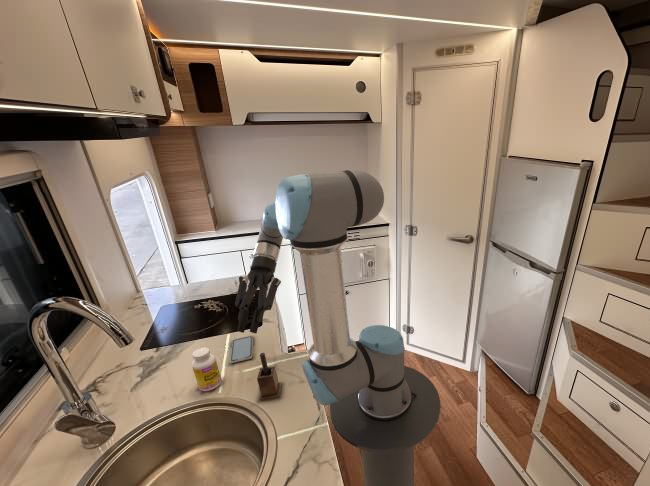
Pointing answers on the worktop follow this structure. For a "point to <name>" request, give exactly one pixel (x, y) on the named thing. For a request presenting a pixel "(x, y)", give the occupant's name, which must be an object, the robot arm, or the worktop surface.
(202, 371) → the supplement bottle
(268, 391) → the pen holder
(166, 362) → the worktop surface
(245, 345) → the smartphone
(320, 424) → the worktop surface
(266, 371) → the stylus
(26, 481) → the worktop surface
